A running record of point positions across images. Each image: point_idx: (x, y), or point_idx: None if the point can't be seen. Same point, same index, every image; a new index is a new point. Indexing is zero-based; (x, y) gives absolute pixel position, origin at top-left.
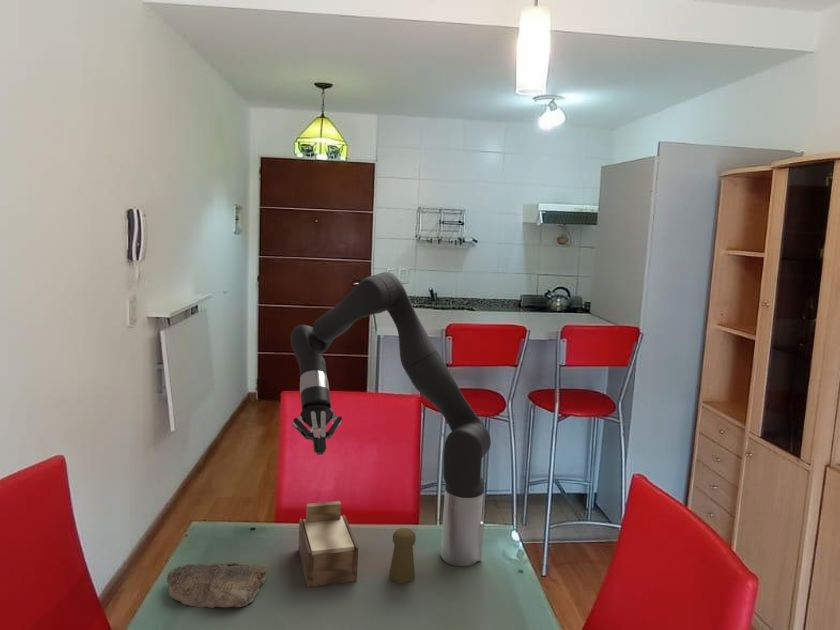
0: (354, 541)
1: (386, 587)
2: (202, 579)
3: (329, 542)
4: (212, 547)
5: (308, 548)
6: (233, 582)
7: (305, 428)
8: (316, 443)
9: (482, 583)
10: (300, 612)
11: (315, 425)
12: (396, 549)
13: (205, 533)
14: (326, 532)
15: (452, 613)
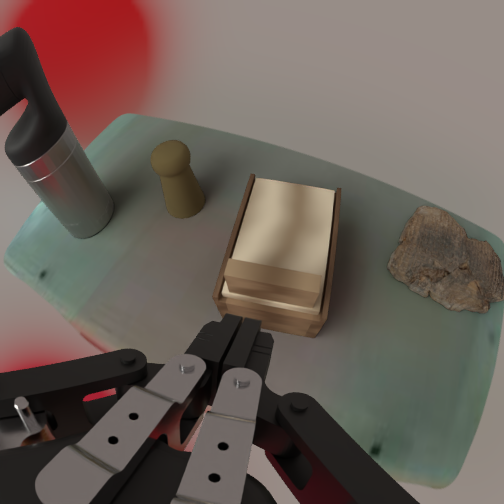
0: (247, 191)
1: (221, 187)
2: (475, 245)
3: (294, 203)
4: (451, 394)
5: (338, 199)
6: (440, 223)
7: (321, 445)
8: (253, 355)
9: (116, 163)
10: (350, 184)
11: (221, 427)
12: (189, 166)
13: (453, 447)
14: (287, 236)
15: (184, 133)
